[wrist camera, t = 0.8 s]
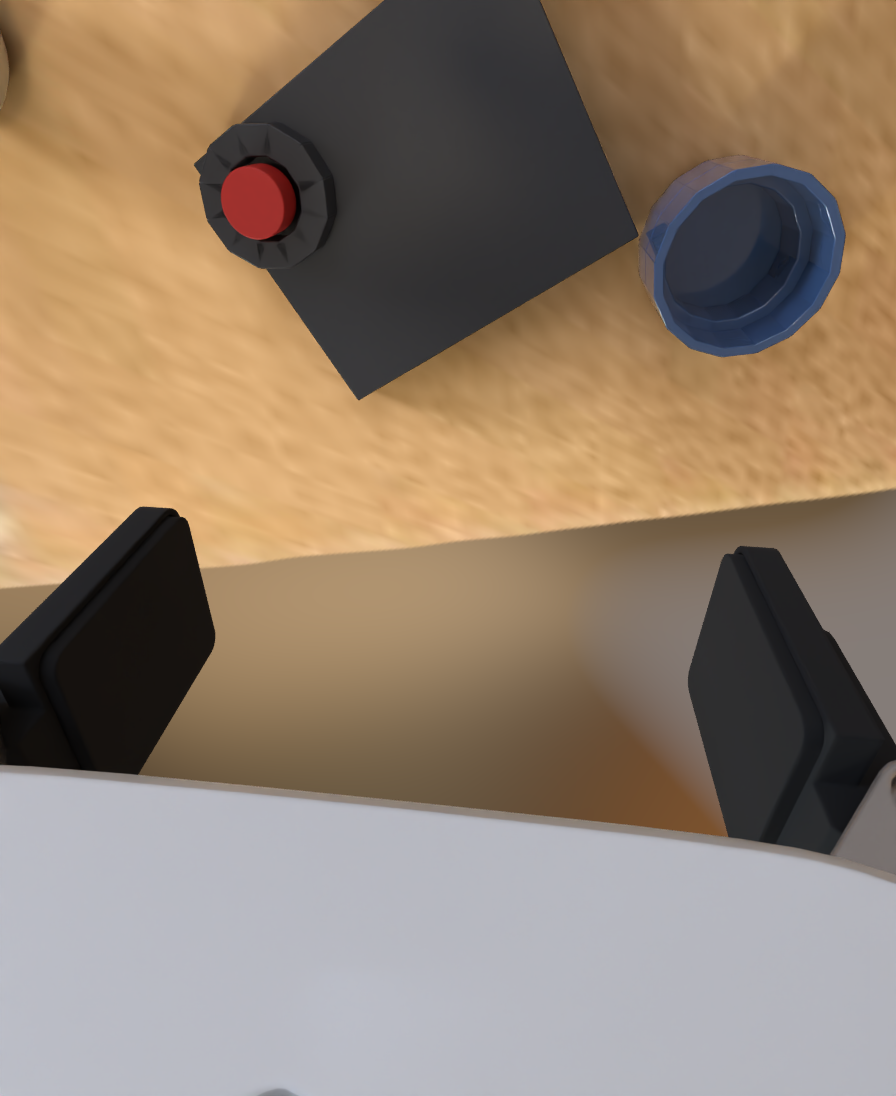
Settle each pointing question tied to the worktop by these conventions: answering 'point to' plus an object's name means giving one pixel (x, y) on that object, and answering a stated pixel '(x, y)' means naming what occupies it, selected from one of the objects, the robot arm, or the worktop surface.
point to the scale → (424, 181)
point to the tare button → (258, 200)
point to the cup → (740, 254)
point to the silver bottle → (3, 71)
